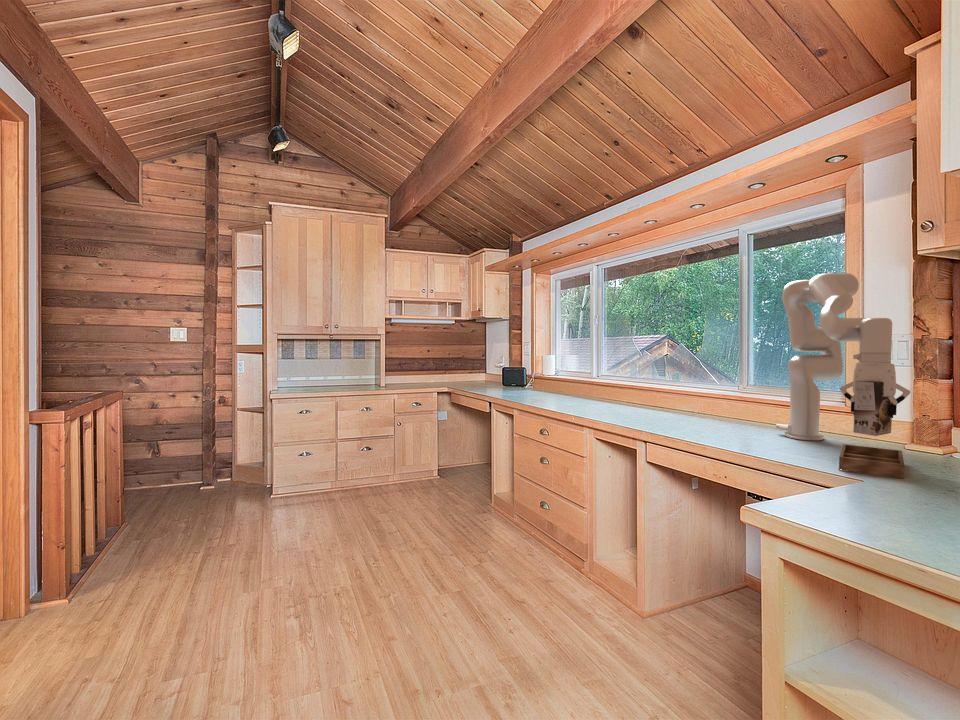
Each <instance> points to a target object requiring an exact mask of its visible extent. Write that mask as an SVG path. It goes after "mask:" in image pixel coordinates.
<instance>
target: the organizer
mask: <svg viewBox="0 0 960 720" xmlns="http://www.w3.org/2000/svg"><path fill="white" fill-rule="evenodd" d="M839 469H842V470H848V471H847V472H849V471H854V472H853V473H856V472H858V473H859V474H865V475H871V476H872V475H873V476H877V477H885V478H886V477H887V478H894V479H900V480H901V479H902V480H904V479H905V461H904V455H903V451H902V450H899V449H891V448H882V447H873V446H872V447H871V446H864V445H855V444H846V443H843V444H842V446H841V450H840V453H839V457H838V470H839ZM858 473H857V474H858Z"/></svg>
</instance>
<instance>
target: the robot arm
mask: <svg viewBox="0 0 960 720" xmlns="http://www.w3.org/2000/svg"><path fill="white" fill-rule="evenodd" d="M859 286H860V285H859V281H858V278H857V277H856V276H855V275H854V274H852V273H848V272H840V273H839V272H837V273H836V272H835V273H830V272H829V273H821V274H817V275H815V276H813V277H812V278H811V279H799V280H793V281H791V282H788V283H787V284H786V285H784V288H783V290H782V297H781V298H782V304H783V307H784V309H785V310H784V311H785V313H786V315H787V320H788V330H789V332H788V333H789V341H790V346H791V348H792V350H794V351H795V352H803V353H815V352H816V353H817V352H818V353H821V354H799V355H794V356H793V357H792V358H790V359H789V361H788V363H787V371H788V375H789V376H788V377H789V385H790V386H789V387H790V389H789V391H790V393H789V395H790V396H789V397H790V398H789V399H790V400H789V423H788V424H778V423H777V424H776V426H775V427H776V429H775V430H778V431H780V430H781V431H784V436H785V437H786V438H789V439H794V440H795V439H796V440H801V441H821V440H822V441H823V440H824V439H825V438H824V435H823V434H820V413H821V412H820V411H821V410H820V409H821V407H820V406H821V392H820V389H819V387H818V386H817V384H816V383H815V381H834V380H838V379H839V378H840V377H841V376H842V375H843V369H844V362H843V356H842V355H843V354H842V346H841V343H843V342H844V343H845V342H846V343H847V342H850V343H851V342H859V353H858V354H857V353H856V354H853V356H852V357H853V358H852V359H854V360H858V362H856V363H855V364H854V365H855V366H854V370H853V371H854V372H853V377H852V378H853V379H852V381H851V382H848V383H846V384H844V385H842V386H840V387H839V391H840V392H841V393H842V395H843V396H844V397H845V398H846V399H847V400H848V401H850V412H851V413H853V416H854V404H855V383H856V381H877V382H884V397H888V398H889V399H890V401H891V404H890V418H892V419H893V418H894V416H897V407H898V406H897V405H899V404H900V403H901V402H903V401H904V400H905V399H906V398H908V396H909V395H910V394H911V390H909V389H907V388H906V387H903V386H902V385H900V384H898V383H897V376H896V367H895V363H892V342H893V341H892V340H893V339H892V337H893V321H892V319H890V318H887V317H838V316H839V315H842V314H844V313H846V312H847V311H848V310H849V309H850V308H851V307H852V306H853V303H854V298H853V296H854V295H856V293H857V292H858V290H859ZM806 303H819V304H820V306H821V307H822V308H821V310H820V313H819V324H820V326H817V325H816V322H815V314H814V312H813V311H812V310H811V309H810V307H809V306H807V305H806ZM850 388H852V393H853V395H851V394H850V392H848V389H850ZM897 390H898V391H900V392H902V394H901V395H899V396H898V397H897V398H896V397H895V395H896V393H897Z"/></svg>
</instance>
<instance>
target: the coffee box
mask: <svg viewBox="0 0 960 720" xmlns="http://www.w3.org/2000/svg"><path fill="white" fill-rule="evenodd" d="M890 404H891V401H890V399H889V398H888V397H884V382H877V381H856V383H855V404H854V412H853V413H854V415H853V429H852V432H853V433H854V434H855V433H856V434H860V435H861V434H862V435H867V436H873V437H879V436H884V435H889V434H892V420H893V418H890Z"/></svg>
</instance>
